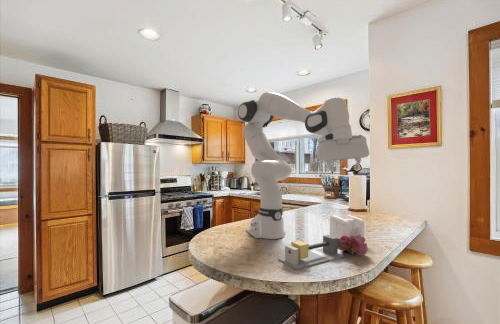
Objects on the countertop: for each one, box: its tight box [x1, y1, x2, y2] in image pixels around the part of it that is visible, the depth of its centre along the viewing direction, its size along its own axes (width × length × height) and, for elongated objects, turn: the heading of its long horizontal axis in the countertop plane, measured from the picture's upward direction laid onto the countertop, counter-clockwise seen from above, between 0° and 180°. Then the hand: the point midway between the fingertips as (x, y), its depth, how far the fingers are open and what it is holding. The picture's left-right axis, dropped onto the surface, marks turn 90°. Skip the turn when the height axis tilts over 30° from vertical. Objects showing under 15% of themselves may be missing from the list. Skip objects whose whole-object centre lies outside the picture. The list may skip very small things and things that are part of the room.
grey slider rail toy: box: [278, 234, 345, 271], centre depth 94 cm, size 10×25×7 cm, turn 122°
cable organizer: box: [329, 214, 365, 239], centre depth 117 cm, size 15×11×12 cm
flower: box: [338, 235, 368, 256], centre depth 100 cm, size 11×10×10 cm
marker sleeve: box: [290, 240, 310, 260], centre depth 91 cm, size 5×4×5 cm
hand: (345, 170), depth 95 cm, fingers open, 8 cm apart
